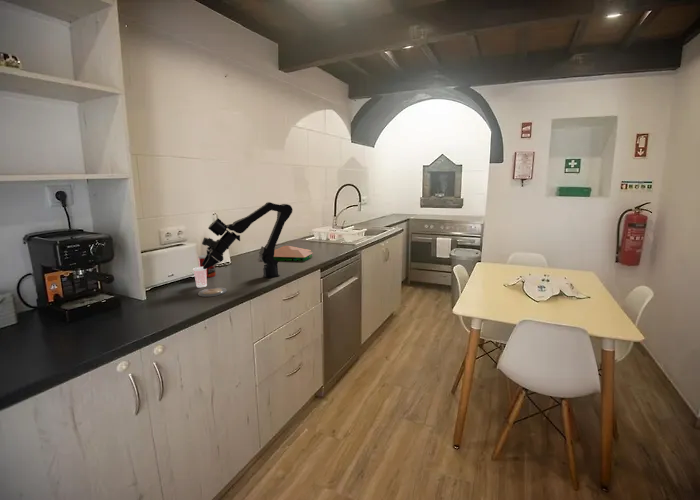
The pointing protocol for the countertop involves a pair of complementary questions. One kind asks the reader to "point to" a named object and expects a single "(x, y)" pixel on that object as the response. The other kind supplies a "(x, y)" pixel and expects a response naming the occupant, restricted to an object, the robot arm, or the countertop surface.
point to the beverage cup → (200, 276)
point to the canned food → (209, 271)
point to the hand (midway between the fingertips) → (203, 266)
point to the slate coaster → (212, 292)
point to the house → (292, 252)
